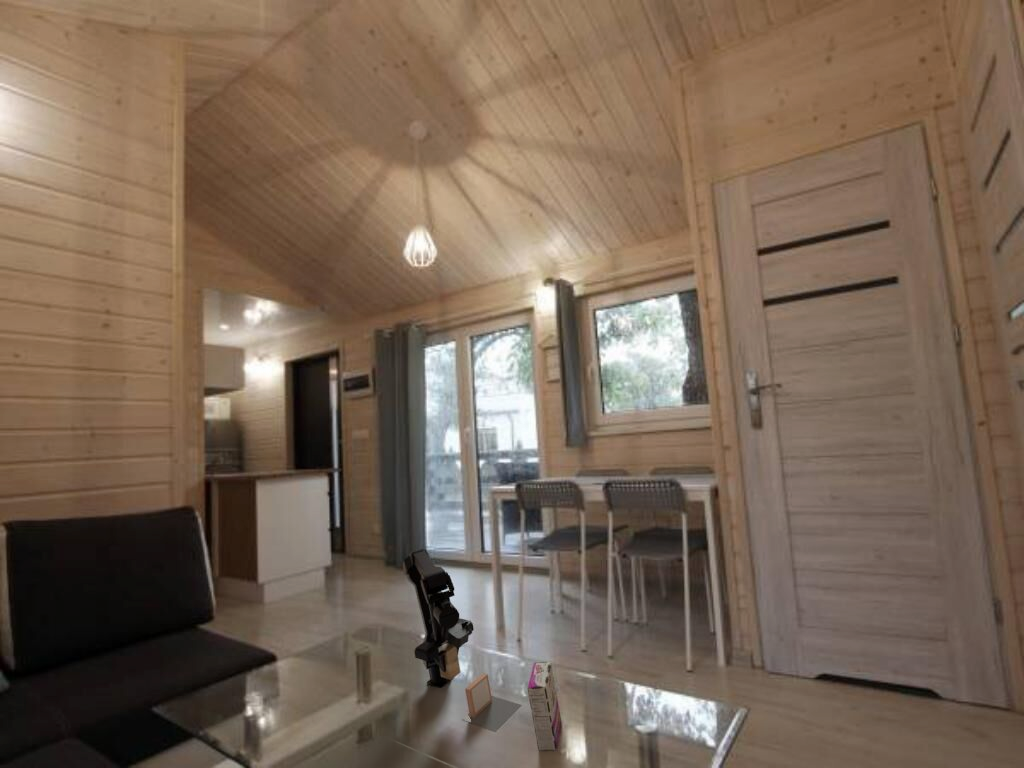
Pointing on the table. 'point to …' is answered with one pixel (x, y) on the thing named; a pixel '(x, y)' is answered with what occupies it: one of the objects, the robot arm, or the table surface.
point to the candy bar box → (544, 706)
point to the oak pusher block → (450, 662)
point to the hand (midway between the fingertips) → (449, 667)
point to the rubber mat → (495, 714)
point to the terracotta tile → (478, 695)
